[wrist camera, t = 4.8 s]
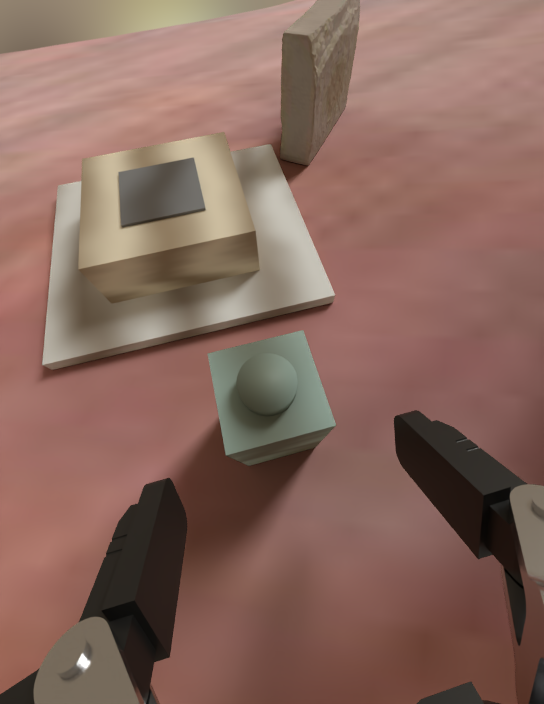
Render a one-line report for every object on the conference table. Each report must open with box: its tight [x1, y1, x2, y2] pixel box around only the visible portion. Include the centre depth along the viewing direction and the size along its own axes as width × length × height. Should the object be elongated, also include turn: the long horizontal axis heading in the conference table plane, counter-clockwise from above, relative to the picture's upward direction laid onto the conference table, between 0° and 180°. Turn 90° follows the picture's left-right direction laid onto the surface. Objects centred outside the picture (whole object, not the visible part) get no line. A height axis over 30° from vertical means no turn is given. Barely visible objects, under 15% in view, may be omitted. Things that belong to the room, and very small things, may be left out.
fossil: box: [280, 0, 360, 165], centre depth 28 cm, size 12×4×10 cm, turn 155°
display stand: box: [42, 132, 335, 370], centre depth 24 cm, size 22×20×5 cm
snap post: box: [208, 330, 336, 466], centre depth 15 cm, size 4×4×9 cm
